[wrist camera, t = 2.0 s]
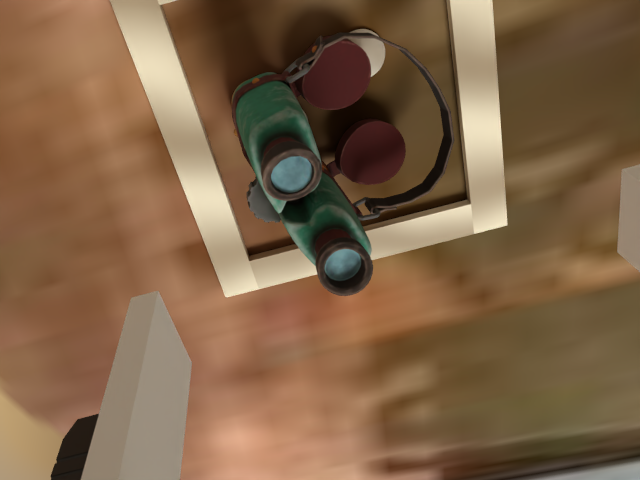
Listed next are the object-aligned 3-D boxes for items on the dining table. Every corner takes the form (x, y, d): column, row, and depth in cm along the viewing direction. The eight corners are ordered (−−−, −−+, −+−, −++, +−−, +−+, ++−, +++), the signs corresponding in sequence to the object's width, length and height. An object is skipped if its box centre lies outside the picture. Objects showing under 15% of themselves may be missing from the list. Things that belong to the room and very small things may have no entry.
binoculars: (540, 222, 22) (316, 342, 23) (436, 142, 32) (278, 228, 32) (471, 3, 18) (195, 156, 18) (374, -16, 27) (192, 86, 27)
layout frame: (503, 220, 34) (507, 225, 33) (226, 291, 34) (225, 297, 33) (478, -134, 25) (483, -135, 24) (100, -33, 25) (97, -32, 24)
